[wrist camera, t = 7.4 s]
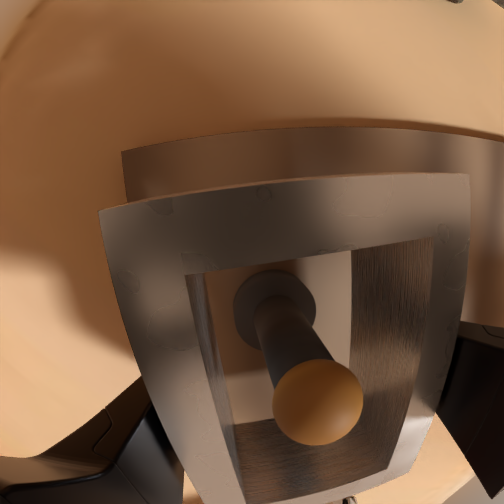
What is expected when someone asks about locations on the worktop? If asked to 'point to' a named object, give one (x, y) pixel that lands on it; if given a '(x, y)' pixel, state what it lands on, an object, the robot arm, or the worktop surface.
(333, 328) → the board
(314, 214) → the hollow metal box
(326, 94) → the worktop surface
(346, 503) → the grey rounded block
